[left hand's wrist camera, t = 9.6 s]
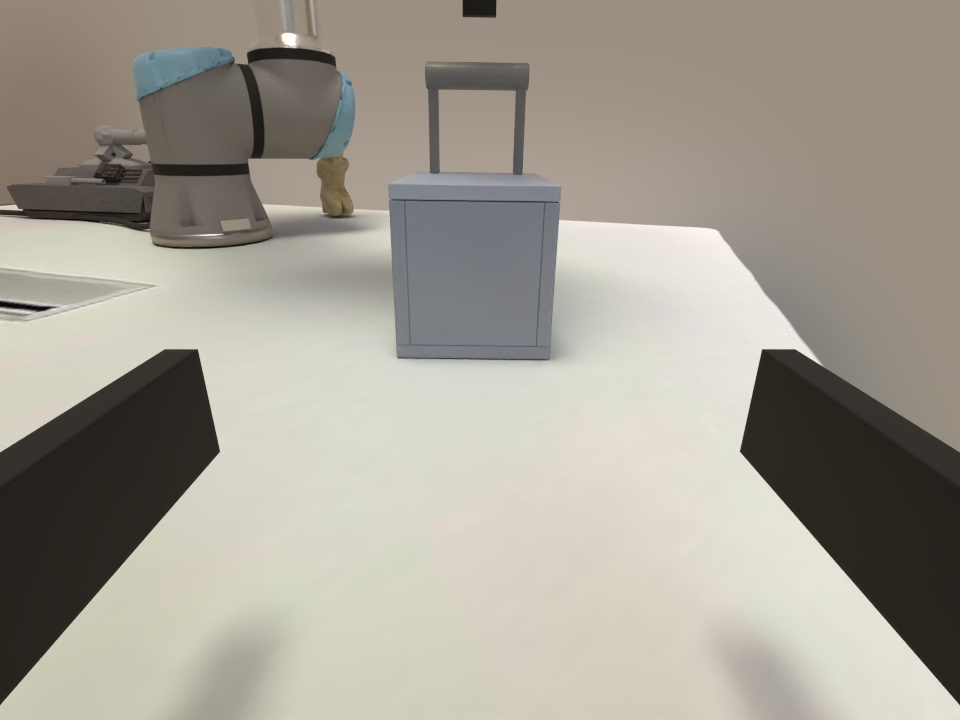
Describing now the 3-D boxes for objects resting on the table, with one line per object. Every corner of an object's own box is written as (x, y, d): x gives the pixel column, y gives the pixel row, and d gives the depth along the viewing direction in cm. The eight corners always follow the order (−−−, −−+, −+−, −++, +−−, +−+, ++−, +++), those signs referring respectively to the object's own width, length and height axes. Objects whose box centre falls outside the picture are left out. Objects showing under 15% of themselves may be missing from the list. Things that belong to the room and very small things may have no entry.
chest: (419, 299, 46) (416, 183, 42) (530, 300, 46) (536, 185, 42) (396, 357, 33) (388, 200, 30) (549, 359, 34) (560, 202, 30)
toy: (15, 217, 89) (-15, 121, 83) (109, 205, 107) (89, 125, 102) (149, 222, 86) (127, 122, 80) (222, 208, 104) (208, 127, 98)
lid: (416, 183, 43) (413, 65, 40) (535, 184, 43) (541, 67, 40) (388, 199, 30) (379, 25, 26) (560, 201, 30) (572, 28, 26)
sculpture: (328, 218, 94) (319, 127, 88) (316, 213, 99) (307, 128, 93) (359, 216, 97) (352, 128, 91) (345, 212, 102) (338, 128, 96)
